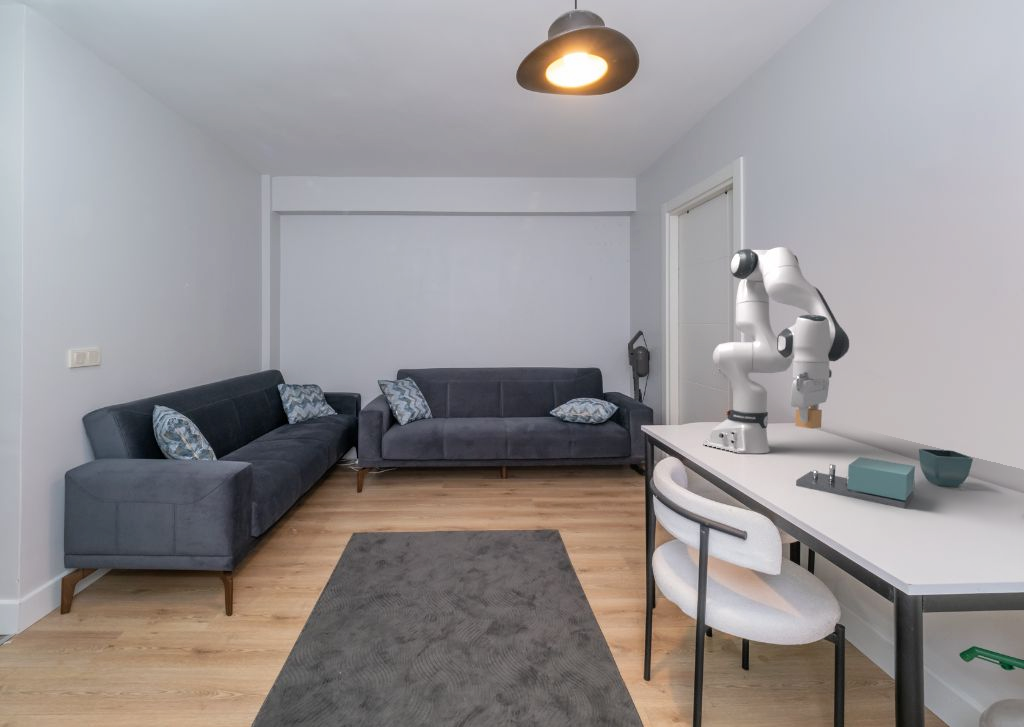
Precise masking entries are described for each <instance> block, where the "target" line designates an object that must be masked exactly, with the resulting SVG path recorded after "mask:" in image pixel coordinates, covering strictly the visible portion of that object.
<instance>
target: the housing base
mask: <svg viewBox="0 0 1024 727" xmlns="http://www.w3.org/2000/svg"><path fill="white" fill-rule="evenodd" d="M836 468H837V467H836V464H830V463H829V471H828V472H829V473H827V474H826V473H822V472H819V470H813V471H809V472H807V473H805V474H804V475H802V476H800V477H799V478H797V479H796V481H795V486H797V487H802V488H805V489H806V488H807V489H810V490H816V491H821V492H826V493H829V494H835V495H839V496H845V497H850V498H854V499H858V500H859V499H860V500H863V501H868V502H872V503H878V504H882V505H888V506H890V507H891V506H892V507H896V508H901V509H905V508H906V507H907V505H908V504H909V503H910V501H911V500H912V499H913V497H914V493H915V492H914V490H913V491H912V492H911V494H910V495H909V496H908V498H907V499H906V500H900V499H895V498H890V497H885V496H880V495H875V494H870V493H865V492H860V491H855V490H850V489H847V487H848V476H846V477H843V476H839V475H836Z"/></svg>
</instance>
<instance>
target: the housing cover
mask: <svg viewBox="0 0 1024 727" xmlns="http://www.w3.org/2000/svg"><path fill="white" fill-rule="evenodd" d="M915 470H916V466H915V465H913V464H905V463H899V462H893V461H888V460H887V461H886V460H882V459H881V460H880V459H875V458H868V457H861V456H859V457H858V458H856V459H855V460H853V461H852V462H851V463H850V464H848V470H847V472H848V473H847V477H848V487H847V489H850V490H855V491H860V492H865V493H870V494H875V495H880V496H885V497H890V498H895V499H900V500H906V499H907V498H908V496H909V495H910V494H911V492H912V491H914V490H915V489H914V488H915V487H914V486H915Z"/></svg>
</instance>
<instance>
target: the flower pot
mask: <svg viewBox="0 0 1024 727" xmlns="http://www.w3.org/2000/svg"><path fill="white" fill-rule="evenodd" d="M918 457H919V458H918V459H919V464H920V469H921V472H922V474H923V475H924V478H925V479H926V480H927V481H928V482H930V483H933V484H934V485H936V486H938V487H941V486H942V487H953V488H957V487H960V486H961V485H962V484H963V483H964V482H965V481H966V480H967V478H968V477H969V475H970V471H971V467H972V464H973V459H974V457H971V456H969V455H966V454H963V453H960V452H958V451H955V450H949V449H931V448H929V449H928V448H918Z"/></svg>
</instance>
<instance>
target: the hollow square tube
mask: <svg viewBox="0 0 1024 727" xmlns="http://www.w3.org/2000/svg"><path fill="white" fill-rule="evenodd" d="M822 411H823V409H819V408H818V409H811V408H810V407H809V410H808V416H809V421H808V422H801V421H800V413H799V407H797V408H795V419H794V420H795V424H794V426H795V427H798V428H799V427H800V428H805V429H810V430H811V429H813V430H814V429H817V428H818V429H819V428H822V417H823V415H822V414H823V413H822Z"/></svg>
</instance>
